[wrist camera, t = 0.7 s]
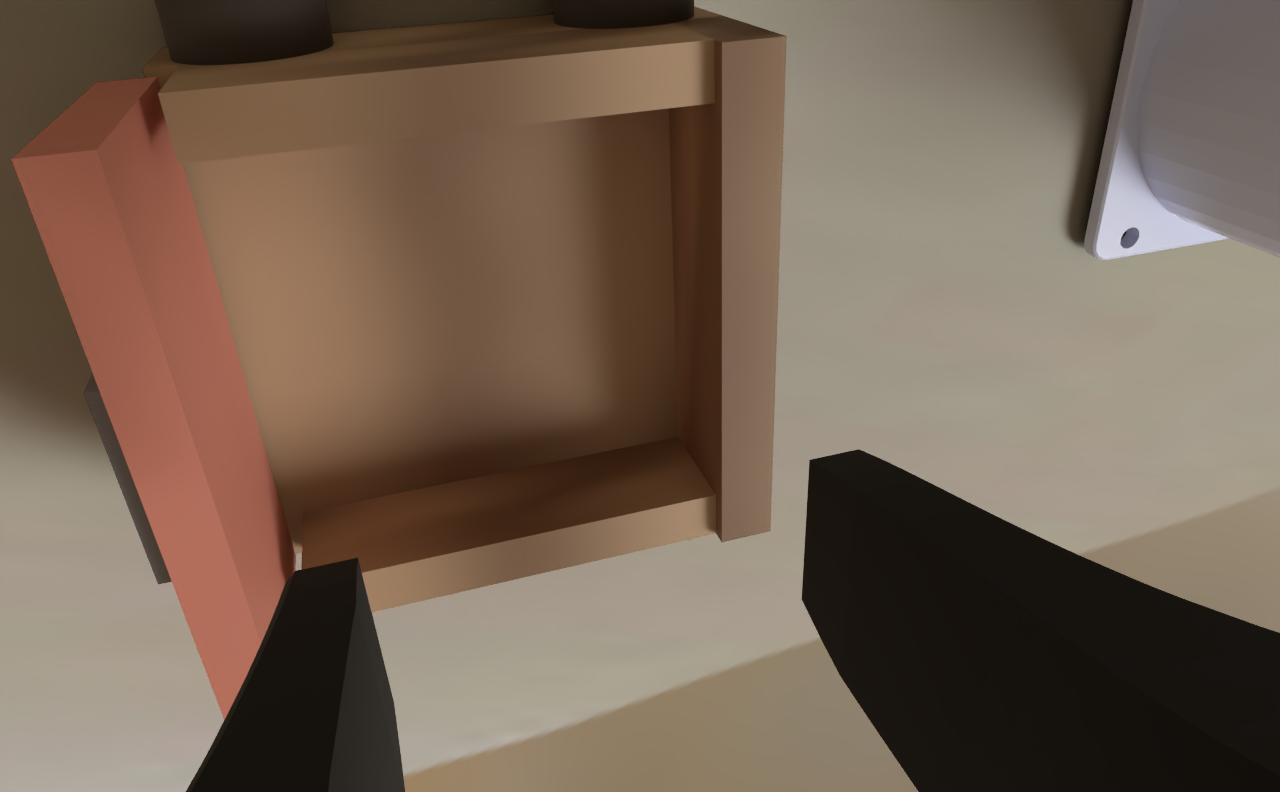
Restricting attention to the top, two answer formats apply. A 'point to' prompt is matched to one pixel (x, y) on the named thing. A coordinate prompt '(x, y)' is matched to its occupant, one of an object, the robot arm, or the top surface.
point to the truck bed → (492, 275)
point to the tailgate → (162, 366)
